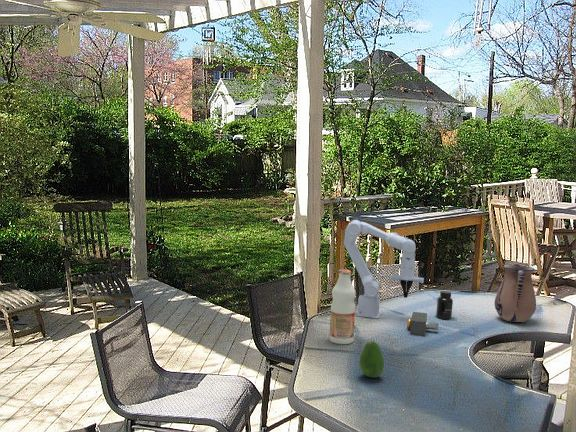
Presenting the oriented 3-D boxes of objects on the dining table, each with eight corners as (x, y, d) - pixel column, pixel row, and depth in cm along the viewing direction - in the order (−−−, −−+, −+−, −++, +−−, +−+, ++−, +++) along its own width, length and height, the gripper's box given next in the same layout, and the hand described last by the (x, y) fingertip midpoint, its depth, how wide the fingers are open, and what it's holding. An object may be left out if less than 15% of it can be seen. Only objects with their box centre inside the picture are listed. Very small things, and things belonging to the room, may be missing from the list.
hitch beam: (409, 334, 245) (410, 320, 244) (412, 324, 258) (413, 311, 257) (424, 336, 243) (425, 322, 242) (426, 326, 256) (427, 313, 256)
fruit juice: (324, 339, 234) (327, 269, 231) (343, 335, 239) (346, 267, 236) (339, 346, 227) (343, 273, 223) (358, 342, 232) (362, 271, 228)
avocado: (367, 370, 203) (369, 336, 201) (387, 377, 198) (389, 342, 196) (354, 377, 197) (356, 341, 195) (374, 383, 192) (376, 347, 190)
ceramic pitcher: (527, 316, 279) (532, 263, 276) (542, 329, 258) (547, 273, 255) (489, 313, 281) (493, 261, 278) (500, 327, 260) (505, 270, 257)
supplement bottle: (448, 320, 266) (449, 294, 265) (433, 317, 270) (435, 291, 269) (453, 317, 272) (455, 292, 270) (439, 314, 276) (441, 289, 274)
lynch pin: (407, 329, 250) (407, 319, 249) (407, 326, 254) (408, 317, 253) (437, 332, 246) (438, 323, 246) (438, 329, 250) (438, 320, 250)
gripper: (390, 267, 262) (388, 297, 264) (423, 270, 258) (421, 301, 260) (391, 264, 269) (389, 293, 270) (424, 267, 265) (422, 297, 267)
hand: (405, 297), depth 266 cm, fingers closed
